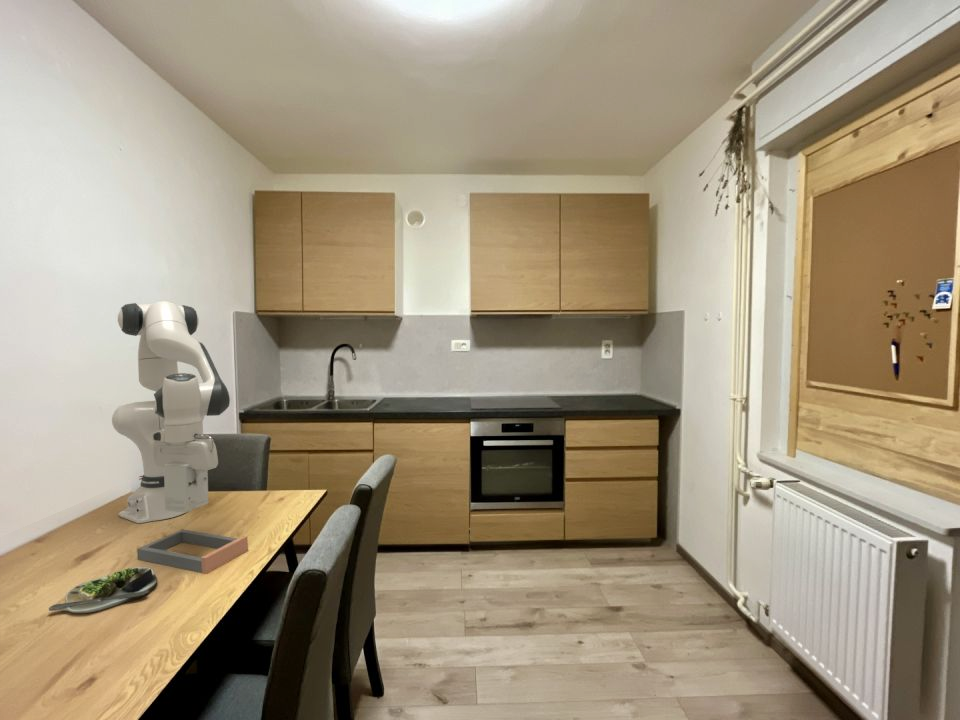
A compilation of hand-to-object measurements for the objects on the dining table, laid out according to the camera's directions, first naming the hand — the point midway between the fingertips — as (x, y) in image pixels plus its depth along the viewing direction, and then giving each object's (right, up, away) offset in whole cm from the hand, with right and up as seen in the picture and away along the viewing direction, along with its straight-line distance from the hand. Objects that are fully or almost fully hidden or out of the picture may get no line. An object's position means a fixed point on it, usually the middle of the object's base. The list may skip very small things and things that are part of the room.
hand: (187, 483), depth 125 cm
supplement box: (0, -7, 0) cm, 7 cm away
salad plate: (-6, -22, -17) cm, 28 cm away
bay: (+1, -20, +1) cm, 20 cm away
